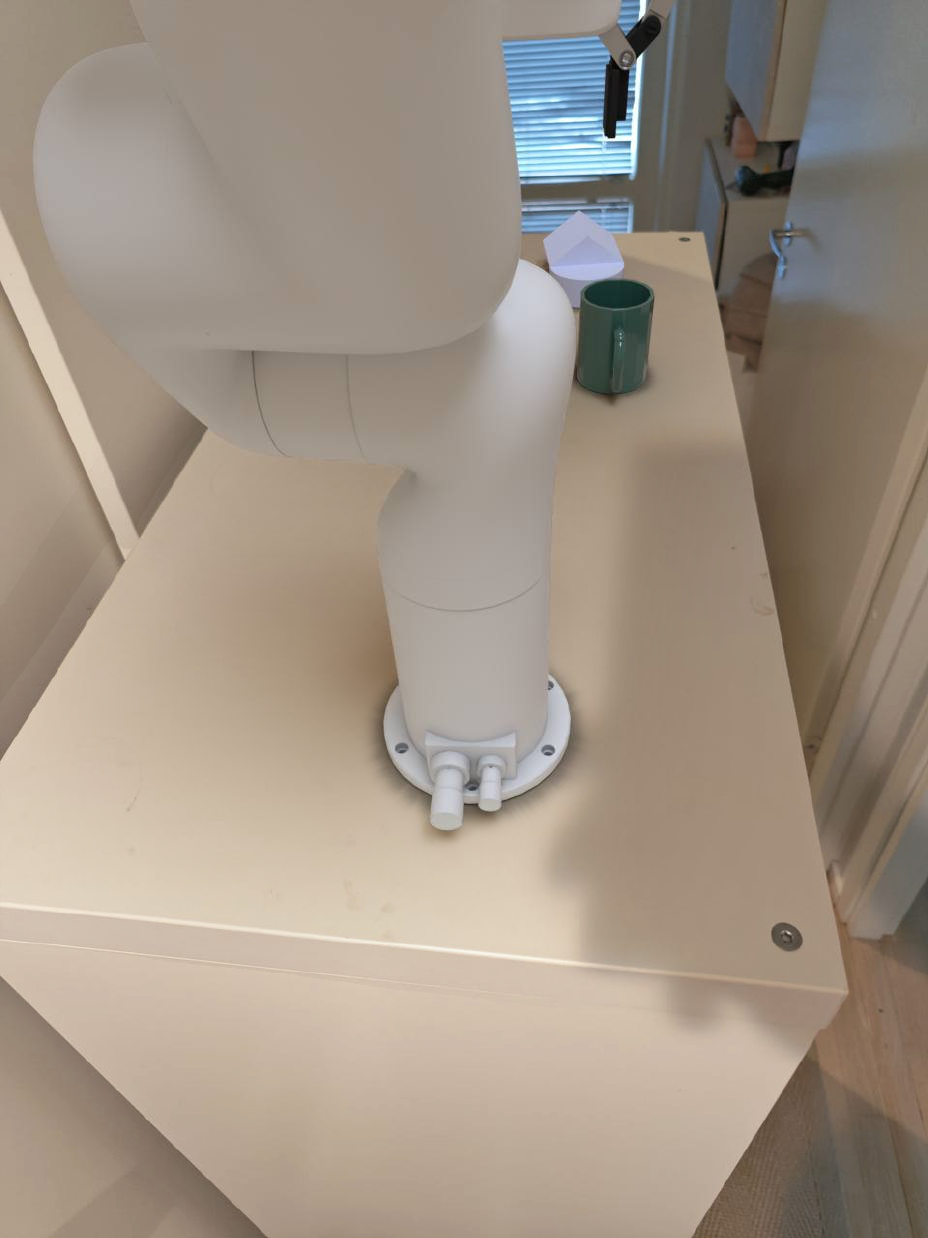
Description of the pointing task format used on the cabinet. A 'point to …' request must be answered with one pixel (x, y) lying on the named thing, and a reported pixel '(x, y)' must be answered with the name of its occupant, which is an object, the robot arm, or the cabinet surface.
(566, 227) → the wedge on round base
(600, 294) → the mug
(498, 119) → the robot arm
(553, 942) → the cabinet surface
